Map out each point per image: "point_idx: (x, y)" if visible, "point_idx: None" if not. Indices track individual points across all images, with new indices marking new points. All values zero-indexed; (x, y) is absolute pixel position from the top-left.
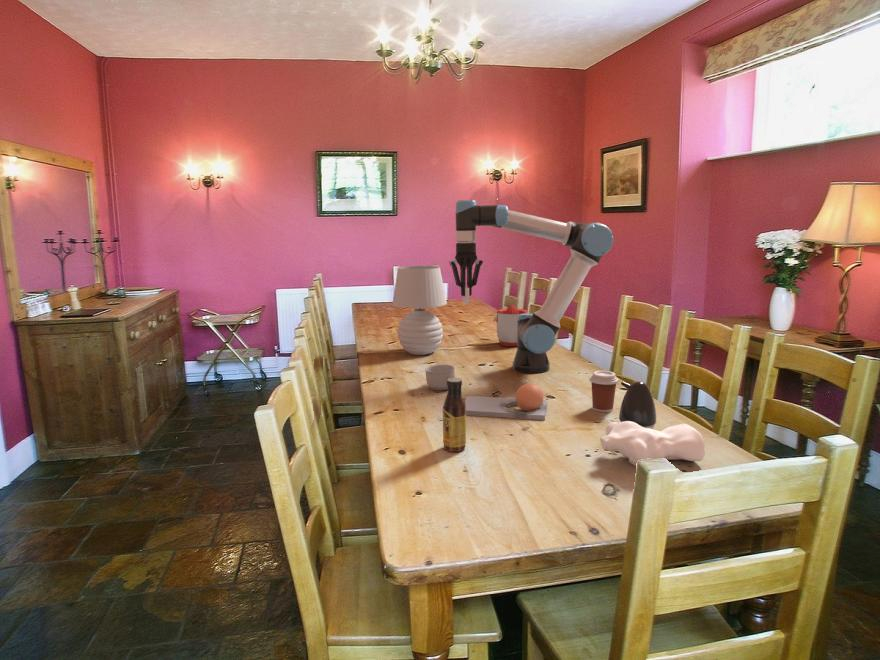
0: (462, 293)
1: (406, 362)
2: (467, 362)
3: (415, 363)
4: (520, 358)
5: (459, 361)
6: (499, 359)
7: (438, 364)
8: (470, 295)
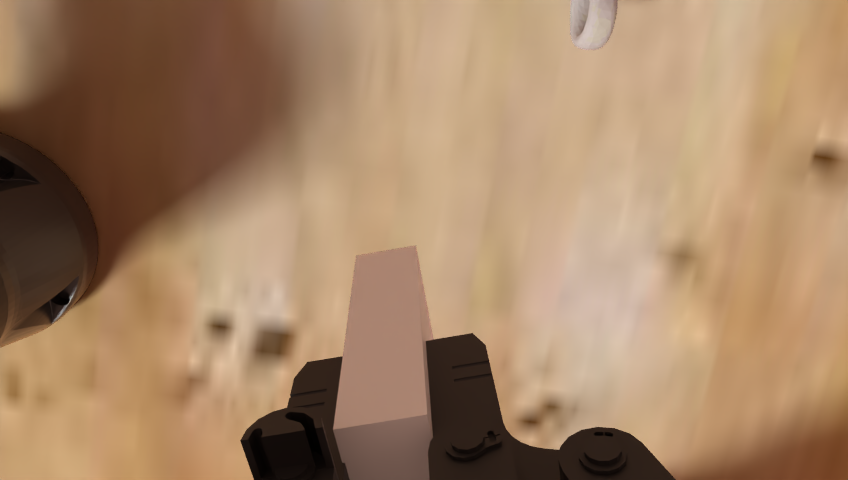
0: (482, 359)
1: (661, 437)
2: None
3: (620, 414)
4: (15, 210)
5: None
6: (162, 430)
7: (615, 14)
8: (318, 361)
